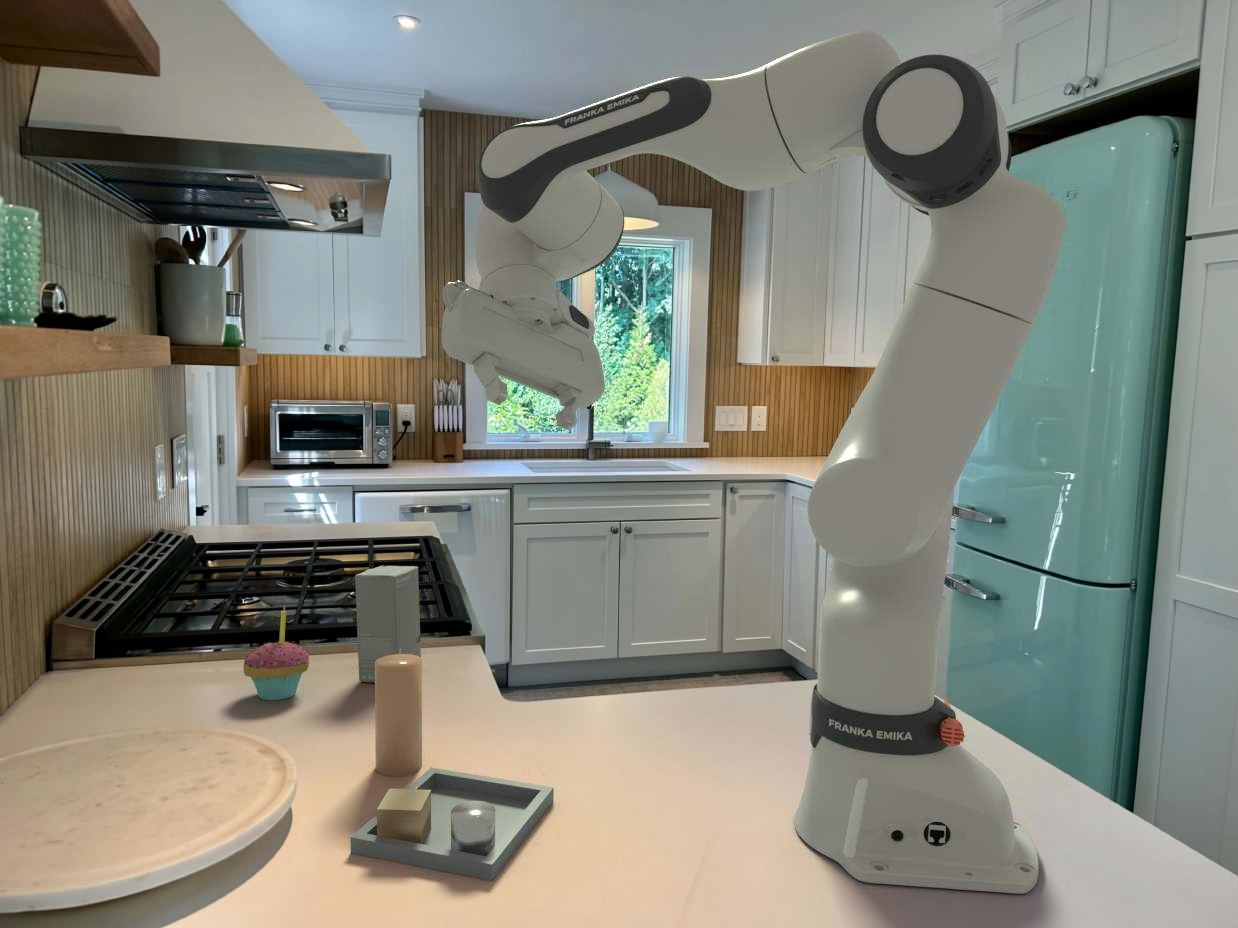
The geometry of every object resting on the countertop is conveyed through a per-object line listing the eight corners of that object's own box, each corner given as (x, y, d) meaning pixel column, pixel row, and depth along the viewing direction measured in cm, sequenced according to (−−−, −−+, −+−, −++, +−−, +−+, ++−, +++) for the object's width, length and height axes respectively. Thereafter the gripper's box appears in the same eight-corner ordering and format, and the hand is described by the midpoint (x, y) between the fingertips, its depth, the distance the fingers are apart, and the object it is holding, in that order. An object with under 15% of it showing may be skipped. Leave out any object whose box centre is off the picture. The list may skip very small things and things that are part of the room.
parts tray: (553, 810, 91) (553, 787, 91) (492, 891, 76) (492, 864, 76) (430, 789, 95) (430, 767, 94) (350, 863, 80) (350, 836, 80)
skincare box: (399, 686, 125) (398, 577, 123) (352, 682, 126) (351, 573, 125) (424, 667, 133) (423, 564, 132) (380, 663, 135) (379, 561, 133)
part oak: (431, 829, 85) (431, 789, 84) (420, 852, 81) (420, 810, 80) (389, 828, 85) (389, 788, 84) (377, 850, 81) (376, 808, 80)
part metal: (502, 845, 82) (502, 804, 82) (483, 868, 78) (483, 825, 78) (463, 838, 83) (463, 797, 83) (442, 860, 79) (443, 818, 79)
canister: (430, 768, 100) (430, 656, 98) (407, 788, 95) (407, 671, 94) (390, 762, 101) (390, 651, 100) (366, 781, 96) (365, 665, 95)
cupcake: (265, 681, 126) (264, 599, 125) (322, 685, 125) (321, 602, 124) (231, 703, 117) (229, 615, 116) (291, 708, 116) (289, 619, 115)
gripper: (460, 257, 91) (469, 366, 84) (604, 327, 104) (622, 426, 97) (426, 291, 94) (432, 398, 87) (569, 355, 108) (584, 452, 101)
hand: (533, 413), depth 92 cm, fingers open, 8 cm apart
